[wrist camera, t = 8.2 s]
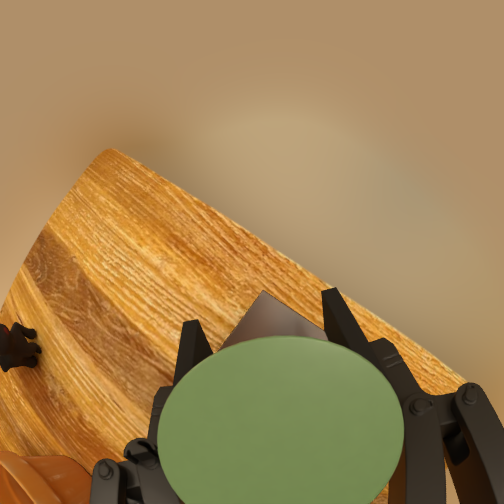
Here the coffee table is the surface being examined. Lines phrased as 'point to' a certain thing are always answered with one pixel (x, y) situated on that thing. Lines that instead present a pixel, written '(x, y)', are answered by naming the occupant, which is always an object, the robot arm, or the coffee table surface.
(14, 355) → the figurine
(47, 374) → the coffee table surface
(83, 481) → the flower pot
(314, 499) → the green canister
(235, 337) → the dark brown square block
